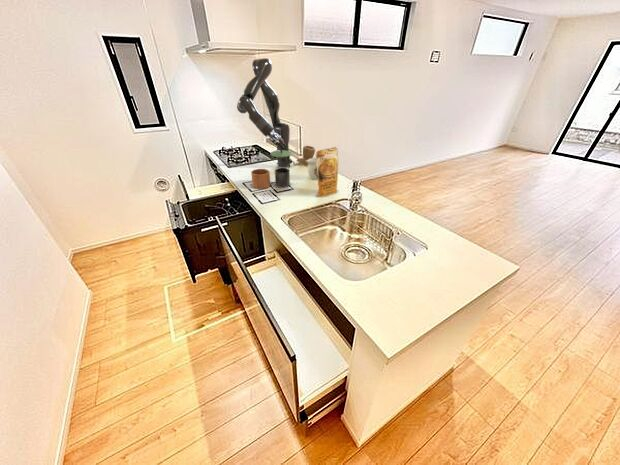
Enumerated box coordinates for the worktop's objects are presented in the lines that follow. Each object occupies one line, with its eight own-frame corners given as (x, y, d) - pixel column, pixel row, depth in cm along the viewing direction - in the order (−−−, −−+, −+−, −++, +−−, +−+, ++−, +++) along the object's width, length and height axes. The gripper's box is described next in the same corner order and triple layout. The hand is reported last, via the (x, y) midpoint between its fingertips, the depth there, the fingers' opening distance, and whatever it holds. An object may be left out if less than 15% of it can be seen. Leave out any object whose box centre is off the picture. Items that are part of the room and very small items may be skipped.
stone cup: (317, 165, 212) (317, 147, 204) (304, 167, 207) (304, 149, 199) (308, 160, 223) (308, 143, 215) (296, 162, 218) (295, 144, 210)
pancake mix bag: (311, 194, 162) (312, 150, 147) (333, 188, 172) (337, 145, 157) (318, 198, 158) (319, 152, 143) (340, 191, 168) (344, 148, 153)
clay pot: (267, 181, 181) (266, 168, 176) (272, 187, 171) (271, 173, 166) (251, 183, 177) (249, 169, 172) (254, 189, 167) (253, 175, 162)
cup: (287, 181, 182) (286, 167, 176) (291, 186, 174) (291, 171, 168) (273, 182, 178) (273, 168, 173) (277, 188, 171) (277, 173, 165)
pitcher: (330, 177, 189) (331, 159, 182) (310, 182, 180) (310, 163, 173) (321, 173, 197) (322, 155, 189) (301, 177, 188) (301, 159, 181)
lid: (288, 151, 173) (287, 135, 167) (295, 157, 162) (295, 140, 157) (268, 153, 168) (267, 137, 163) (274, 159, 158) (273, 142, 152)
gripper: (265, 124, 150) (286, 146, 155) (271, 120, 161) (290, 141, 167) (257, 133, 153) (277, 154, 158) (263, 128, 165) (282, 149, 170)
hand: (284, 147), depth 163 cm, fingers closed on lid, 3 cm apart
